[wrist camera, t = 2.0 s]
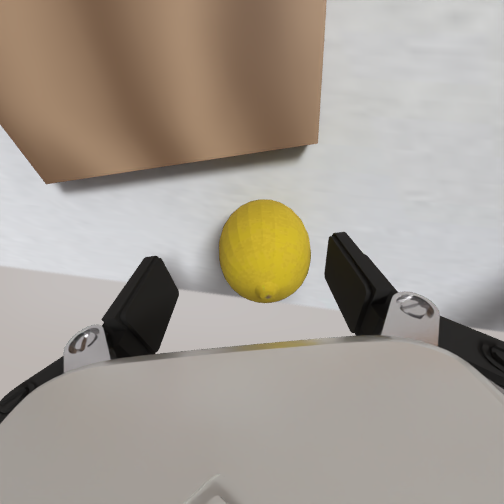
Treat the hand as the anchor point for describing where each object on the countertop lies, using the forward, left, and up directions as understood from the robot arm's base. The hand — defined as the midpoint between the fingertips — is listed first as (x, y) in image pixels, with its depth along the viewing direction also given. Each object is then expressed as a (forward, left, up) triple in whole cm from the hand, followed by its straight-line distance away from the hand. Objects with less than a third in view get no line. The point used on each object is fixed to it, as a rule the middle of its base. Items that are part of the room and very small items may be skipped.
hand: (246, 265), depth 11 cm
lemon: (-1, 0, -6) cm, 6 cm away
